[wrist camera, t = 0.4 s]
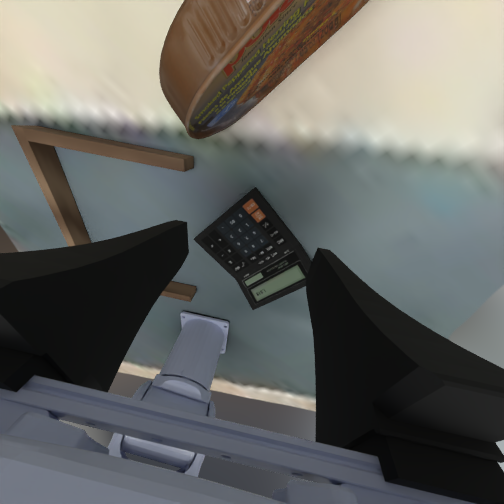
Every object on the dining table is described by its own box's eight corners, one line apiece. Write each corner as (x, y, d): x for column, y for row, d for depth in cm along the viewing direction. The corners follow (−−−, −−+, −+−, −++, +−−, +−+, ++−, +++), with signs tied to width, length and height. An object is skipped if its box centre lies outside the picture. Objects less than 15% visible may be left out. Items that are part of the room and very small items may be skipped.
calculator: (256, 186, 18) (251, 195, 16) (317, 264, 22) (322, 281, 20) (196, 236, 23) (185, 249, 20) (257, 294, 27) (254, 312, 24)
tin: (217, 140, 16) (168, 148, 10) (192, 103, 15) (115, 82, 8) (419, -43, 10) (706, -409, 3) (404, -130, 9) (808, -1000, 2)
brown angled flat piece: (196, 291, 27) (190, 301, 26) (95, 269, 28) (83, 278, 26) (193, 156, 17) (183, 159, 16) (36, 125, 18) (11, 125, 16)
